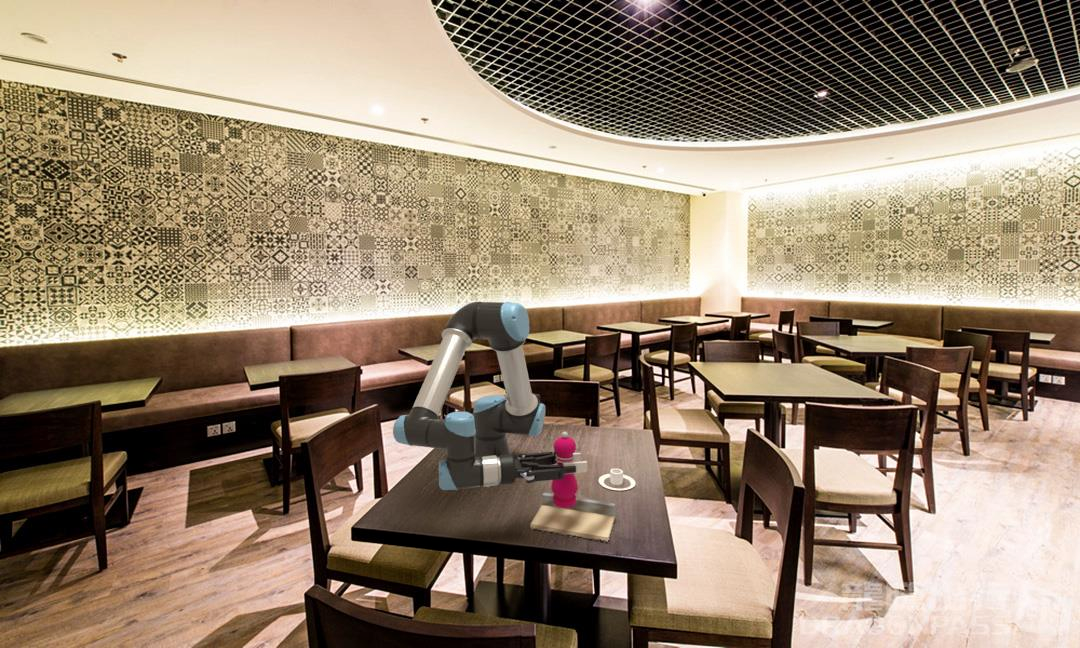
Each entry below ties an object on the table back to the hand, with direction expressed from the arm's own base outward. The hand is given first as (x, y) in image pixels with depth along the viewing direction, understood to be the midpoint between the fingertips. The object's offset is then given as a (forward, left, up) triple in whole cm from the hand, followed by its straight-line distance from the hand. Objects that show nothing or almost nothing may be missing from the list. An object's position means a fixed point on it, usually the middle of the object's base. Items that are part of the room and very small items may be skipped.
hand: (583, 462), depth 123 cm
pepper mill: (-5, -3, -11) cm, 12 cm away
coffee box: (-37, +62, -17) cm, 75 cm away
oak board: (-2, -2, -17) cm, 18 cm away
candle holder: (+6, +26, -18) cm, 32 cm away
